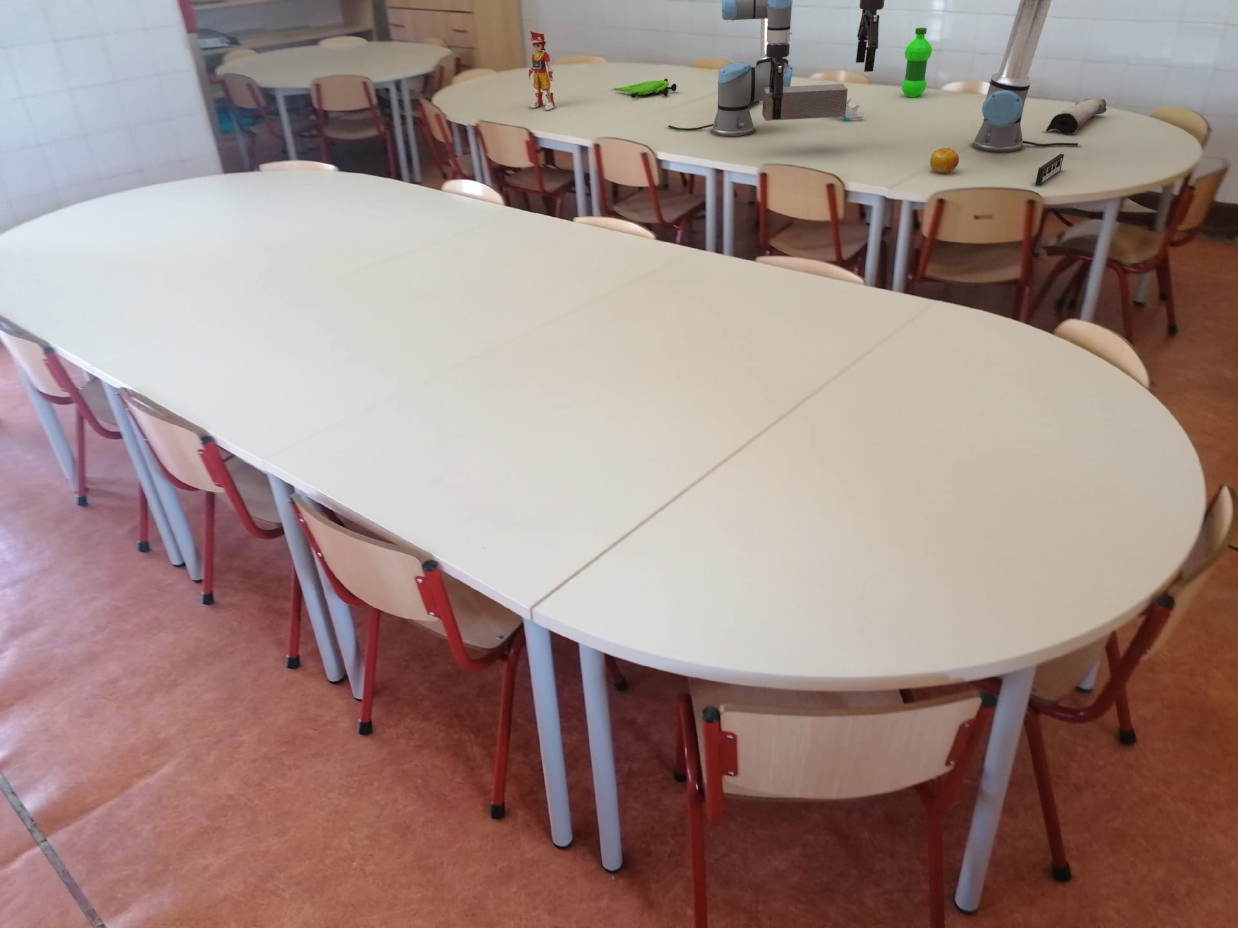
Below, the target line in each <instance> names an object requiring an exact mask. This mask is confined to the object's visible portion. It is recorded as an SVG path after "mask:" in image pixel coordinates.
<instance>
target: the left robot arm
mask: <svg viewBox="0 0 1238 928" xmlns="http://www.w3.org/2000/svg"><path fill="white" fill-rule="evenodd" d="M792 7H793V0H721V18H722V20H723V21H732V22H734V21H744V20H760V54H759V55H760V57H759V58H758V59H757V61H755V66H752V65H751V63H750V62H747V61H746V62H735V63H730V64H727V65H724V66H722V67H720V69H719V70H718V75H717V111H716V114H715V118H714V120H713V123H711V124H707V125H703V126H702V125H701V126H699V127H697V126H696V127H677V126H673V125H671V124H668V128H671V129H674V130H677V131H697V130H702V129H703V130H704V129H706V128H710V127H712V133H713V134H715V135H717V136H721V137H741V136H746V135H750V134H752V133H754V127H755V126H754V122H753V118H752V115H751V111H750V107H749V102H755V101H760V102H763V88H769V87H774V97H772V99H773V116H772V119H781V104H782V98H783V87H788V86H791V85H792V84H791V83H792V77H793V69H794V68H793V66H792V65H791V64H789V59H788V58H787V57H789V56H790V42H791V36H790V35H792V34H793V31H791V28H792V27H791V23H792V10H793V9H792ZM777 94H778V95H777Z"/></svg>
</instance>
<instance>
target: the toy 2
mask: <svg viewBox="0 0 1238 928" xmlns="http://www.w3.org/2000/svg"><path fill="white" fill-rule="evenodd" d="M669 85H670V83H669V79H668V78H664V79H663V80H649V81H644V82H640V83H634V84H629V85H627V86H621V87H613V88H612V89H613V90H616V91H619V92H623V93H627V94H628V93H629V94H631V95H630V96H631V98H632V99H634V98H636V96H637V95H650V94H652V93H654V94H658V93H662V95H663V96H665V97H667V96H668V95H669V90H671V91H672V92H676V91H677V84H676V83H672V84H671V86H669Z"/></svg>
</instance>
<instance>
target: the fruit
mask: <svg viewBox="0 0 1238 928" xmlns="http://www.w3.org/2000/svg"><path fill="white" fill-rule="evenodd" d="M959 163H960V156H959V154H958V152H957V151H956V150H955V149H953V148H951V147H942V148H938V149H936V150H934V151H933V153H932V154H931V155H930V159H929V166H930V168H931V169H932V170H933V171H934V172H936V173H939V174H940V173H943V174H944V173H945V174H946V173H951V172H953V171H954V170H956V168H957V167H958V165H959Z"/></svg>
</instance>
